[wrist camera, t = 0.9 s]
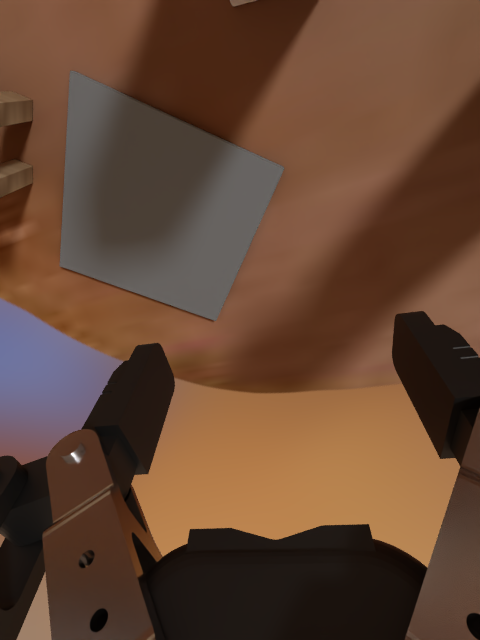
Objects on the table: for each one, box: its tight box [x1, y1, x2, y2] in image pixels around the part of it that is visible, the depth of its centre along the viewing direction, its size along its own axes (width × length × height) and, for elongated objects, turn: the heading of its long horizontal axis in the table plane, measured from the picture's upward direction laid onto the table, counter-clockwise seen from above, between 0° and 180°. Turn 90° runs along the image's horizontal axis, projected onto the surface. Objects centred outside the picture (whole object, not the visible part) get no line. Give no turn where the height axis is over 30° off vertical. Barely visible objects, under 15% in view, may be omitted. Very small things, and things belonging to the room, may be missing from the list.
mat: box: [60, 71, 284, 321], centre depth 28 cm, size 16×16×1 cm
